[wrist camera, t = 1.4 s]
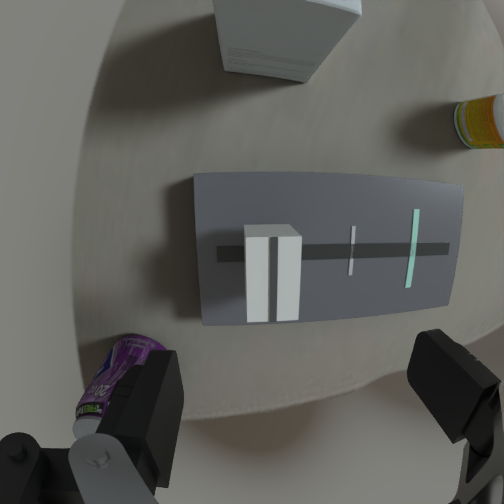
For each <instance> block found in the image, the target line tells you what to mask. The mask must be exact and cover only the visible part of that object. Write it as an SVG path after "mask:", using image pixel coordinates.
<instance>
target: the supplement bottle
mask: <svg viewBox="0 0 504 504" xmlns="http://www.w3.org/2000/svg"><path fill="white" fill-rule="evenodd" d="M454 124H455V128H456V131H457V133H458V136H459V137H460V139H461V140H462V142H463V143H464V144H465V145H466V146H468V147H470V148H474V149H486V148H504V94H497V95H492V96H486V97H481V98H476V99H471V100H467V101H463V102H461V103H459V104H458V105H457V107H456V109H455V112H454Z"/></svg>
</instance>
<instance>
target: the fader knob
mask: <svg viewBox="0 0 504 504" xmlns="http://www.w3.org/2000/svg"><path fill="white" fill-rule="evenodd" d="M301 249H302V236H301V235H300V234H299V233H298V232H297V231H296V230H295V229H294V228H293V227H292V226H291V225H289V224H260V225H244V259H245V299H246V312H247V322H268V321H270V322H277V321H288V320H298V316H299V297H300V276H301Z"/></svg>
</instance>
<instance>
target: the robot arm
mask: <svg viewBox="0 0 504 504" xmlns="http://www.w3.org/2000/svg"><path fill="white" fill-rule="evenodd" d="M407 378H408V382H409V383H410V385H411V387H412V388H413V389H414V391H415V392H416V393H417V395H418V396H419V397H420V399H421V400H422V402H423V403H424V404H425V406H426V407H427V408H428V410H429V411H430V413H431V414H432V415H433V417H434V418H435V419H436V421H437V422H438V424H439V425H440V426H441V428H442V429H443V431H444V432H445V433H446V435H447V436H448V438H449V439H450V440H451V442H452V443H453V444H454V443H456V442H458V441H460V440H462V439H464V438H466V439H467V440H468V441H467V443H466V444H465V446H464V450H463V458H462V466H461V473H460V479H459V485H458V490H457V493H456V495H455V497H454V499H453V500H452V502H450V503H449V504H504V380H503V381H501V380H499V379H498V378H497V377H496V376H495V375H494V374H493V373H492V372H491V371H490V370H489V369H488V368H487V367H486V366H484V365H483V364H482V363H481V362H480V361H477V358H475V357H474V356H473V355H472V354H471V355H470V352H469V351H467V349H465V348H464V347H463V346H462V345H460V344H458V343H456V342H454V341H453V340H452V339H451V338H450V337H448V336H447V335H446V334H445V333H444V332H443V331H441V330H440V329H433V330H428V331H423V332H420V333H419V334H418V335H417V337H416V340H415V344H414V348H413V351H412V355H411V358H410V362H409V365H408V369H407ZM183 405H184V391H183V385H182V380H181V374H180V369H179V363H178V357H177V353H176V351H175V350H150V352H149V354H148V356H147V359H146V361H145V363H144V365H139V364H135V365H134V366H133V367H131V368H130V369H129V370H128V371H127V372H125V373H124V375H123V377H122V379H121V381H120V383H119V384H118V387H117V388H116V391H115V393H114V397H112V399H111V401H110V403H109V405H108V407H107V409H106V411H105V413H104V415H103V417H102V419H101V421H100V424H99V426H98V428H97V430H96V432H95V434H89V435H86V436H83V437H81V438H79V439H78V440H77V441H75V442H74V444H73V445H72V446H71V448H66V449H60V448H59V449H58V448H54V449H53V448H41V447H40V446H39V444H38V443H37V441H36V440H35V439H34V438H33V437H32V436H30V435H29V434H26V433H21V432H17V433H12V434H9V435H7V436H5V437H4V438H3V439H2V440H1V441H0V504H159V503H158V502H157V500H156V499H155V498H154V495H155V490H156V487H163V488H168V486H169V481H170V474H171V469H172V463H173V458H174V452H175V447H176V442H177V436H178V431H179V426H180V421H181V415H182V410H183Z"/></svg>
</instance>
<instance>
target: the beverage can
mask: <svg viewBox="0 0 504 504" xmlns="http://www.w3.org/2000/svg"><path fill="white" fill-rule="evenodd" d="M150 350H167V349H166V348H165V347H164V346H162V345H161V344H160V343H158V342H157V341H155V340H153V339H150V338H148V337H144V336H139V335H130V336H125V337H123V338H121V339H119V340H118V341H117V342H116V343H115V344H114V346H113V347H112V349H111V350H110V352H109V354H108V355H107V357H106V358H105V360H104V361H103V363H102V365H101V366H100V368H99V370H98V371H97V373H96V374H95V376H94V378H93V379H92V381H91V383H90V384H89V386H88V388H87V389H86V391H85V393H84V394H83V396H82V398H81V400H80V401H79V403H78V405H77V407H76V421H75V423H74V425H73V433H74V435H75V437H76V439H77V440H78V439H79V438H81V437H83V436H86V435H89V434H95V432H96V430H97V428H98V426H99V424H100V421H101V419H102V417H103V415H104V413H105V411H106V409H107V407H108V405H109V403H110V401H111V399H112V397H114V393H115V391H116V388H117V387H118V384H119V383H120V381H121V379H122V377H123V375H124V373H125V372H127V371H128V370H129V369H130V368H131V367H133V366H134V365H135V364H139V365H144V363H145V361H146V359H147V356H148V354H149V352H150Z"/></svg>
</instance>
